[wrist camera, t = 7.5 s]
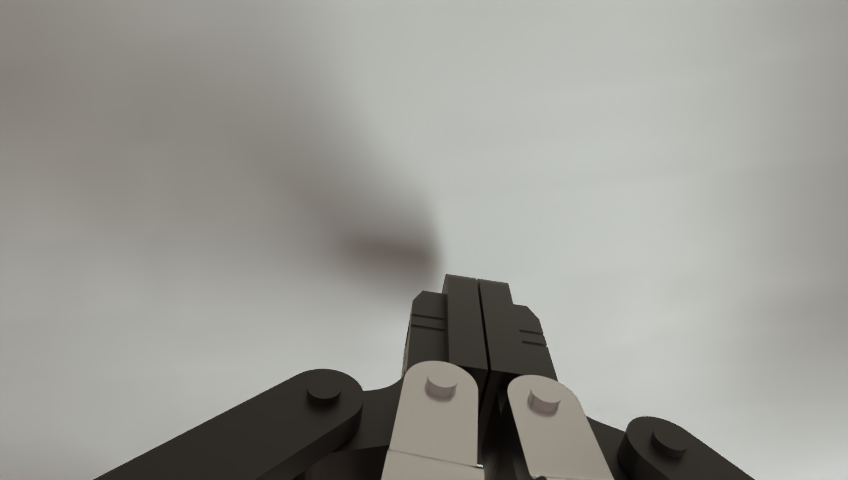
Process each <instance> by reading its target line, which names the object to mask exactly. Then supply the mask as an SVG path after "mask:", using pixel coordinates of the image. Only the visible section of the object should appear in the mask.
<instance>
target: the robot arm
mask: <svg viewBox="0 0 848 480" xmlns="http://www.w3.org/2000/svg"><path fill="white" fill-rule="evenodd" d="M546 345H547V344H546V341H545V337H544V336H543V331H542V328H541V324H540V321H539V319H538V318H537V317H536V316H535V315H534V313H533V312H532V311H531V310H530V309H529V308H528V307H527V306H521V305H515V304H513V302H512V297H511V293H510V289H509V285H508V283H503V282H496V281H490V280H483V279H477V280H476V278H469V277H463V276H456V275H450V274H446V276H445V280H444V284H443V289H442V294H441V293H434V292H428V291H422V292H421V293H420V294H419V295H418V296H417V297H416V298H415V299H414V300H413V303H412V308H411V314H410V320H409V326H408V332H407V338H406V343H405V349H404V357H403V368H402V376H401V379H400V380H399V381H398V382H396V383H395V384H393V385H391V386H389V387H386V388H382V389H378V390H370V391H363V390H362V388H361V386H360V384H359V383H358V382H357V381H356V380H355V379H354V378H352V377H351V376H349V375H347V374H345V373H343V372H340V371H336V370H331V369H315V370H309V371H305V372H302V373H300V374H298V375H296V376H294V377H292V378H290V379H288V380H286V381H284V382H282V383H280V384H278V385H276V386H274V387H273V388H271V389H269V390H267V391H265V392H263V393H261V394H259V395H257V396H255V397H253V398H251V399H249V400H247V401H245V402H243V403H241V404H239V405H238V406H236V407H234V408H232V409H230V410H228V411H226V412H224V413H222V414H220V415H218V416H216V417H214V418H212V419H210V420H208V421H206V422H204V423H203V424H201V425H199V426H197V427H195V428H193V429H191V430H189V431H187V432H185V433H183V434H181V435H179V436H177V437H175V438H173V439H171V440H169V441H168V442H166V443H164V444H162V445H160V446H158V447H156V448H154V449H152V450H150V451H148V452H146V453H144V454H142V455H140V456H138V457H136V458H134V459H133V460H131V461H129V462H127V463H125V464H123V465H121V466H119V467H117V468H115V469H113V470H111V471H109V472H107V473H105V474H103V475H101V476H99V477H98V478H96V479H94V480H755V479H753V478H752V477H750V476H749V475H748V474H746V473H745V472H743V471H742V470H741V469H739V468H738V467H736V466H735V465H734V464H732V463H731V462H729V461H728V460H727V459H725V458H724V457H722V456H721V455H720V454H718V453H717V452H715V451H714V450H713V449H711V448H710V447H708V446H707V445H706V444H704V443H703V442H701V441H700V440H699V439H697V438H696V437H694V436H693V435H692V434H690V433H689V432H687V431H686V430H684V429H683V428H681V427H680V426H678V425H676V424H674V423H672V422H669V421H667V420H664V419H661V418H656V417H649V416H646V417H638V418H635V419H633V420H632V421H631V422H630V423H629V424H628V426H627V429H626V431H625V432H624V431H621V430H619V429H616V428H613V427H611V426H608V425H605V424H603V423H600V422H598V421H595V420H593V419H591V418H589V417H587V416H586V415H585V413H584V411H583V409H582V406H581V404H580V402H579V400H578V398H577V397H576V396H575V395H574V393H573V392H572V391H571V390H569V389H568V388H567V387H566V386H564V385H562V384H561V383H559V382H558V380H557V376H556V373H555V370H554V367H553V363H552V360H551V357H550V354H549V350H548V347H546ZM477 464H481V465H483V468H482V467H478V466H477Z"/></svg>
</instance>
